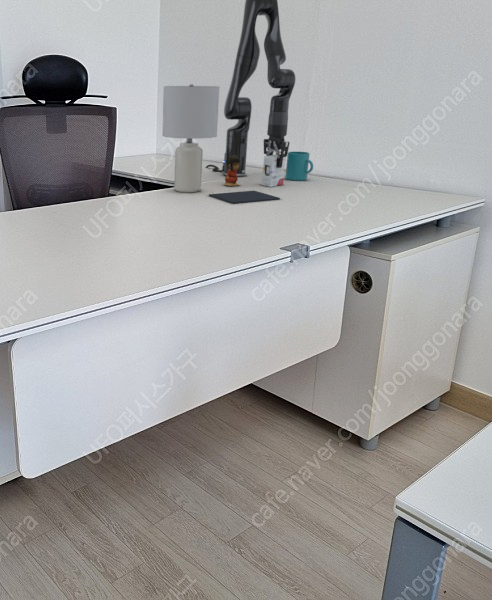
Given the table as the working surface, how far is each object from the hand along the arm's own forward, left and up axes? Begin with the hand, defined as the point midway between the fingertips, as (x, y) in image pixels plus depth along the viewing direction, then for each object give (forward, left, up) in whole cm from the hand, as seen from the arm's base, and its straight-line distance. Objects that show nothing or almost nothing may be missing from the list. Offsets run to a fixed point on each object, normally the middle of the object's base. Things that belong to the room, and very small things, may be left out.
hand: (274, 166), depth 239 cm
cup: (-7, +19, -8) cm, 22 cm away
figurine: (-6, -16, -8) cm, 19 cm away
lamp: (-3, -38, -8) cm, 39 cm away
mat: (+18, -26, -8) cm, 33 cm away
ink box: (0, 0, -8) cm, 8 cm away
